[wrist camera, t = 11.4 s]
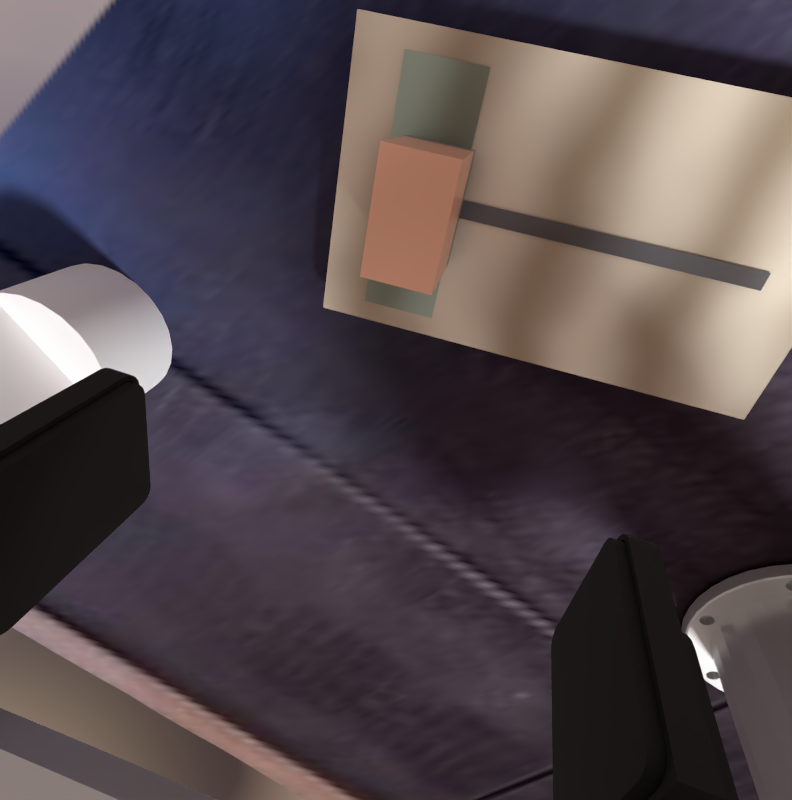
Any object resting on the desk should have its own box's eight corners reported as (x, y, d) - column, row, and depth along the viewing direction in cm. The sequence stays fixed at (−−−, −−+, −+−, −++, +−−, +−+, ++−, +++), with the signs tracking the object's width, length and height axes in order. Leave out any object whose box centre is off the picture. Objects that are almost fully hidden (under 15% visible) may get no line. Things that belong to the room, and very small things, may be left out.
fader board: (902, 125, 20) (938, 127, 18) (730, 400, 27) (744, 420, 25) (370, 16, 22) (356, 8, 21) (335, 295, 29) (322, 308, 27)
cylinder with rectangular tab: (198, 355, 34) (53, 463, 23) (120, 410, 37) (-33, 522, 27) (98, 235, 31) (-115, 297, 21) (25, 307, 35) (-184, 389, 25)
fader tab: (475, 150, 22) (462, 159, 18) (448, 264, 25) (431, 295, 20) (408, 135, 22) (380, 140, 18) (388, 248, 25) (359, 276, 21)
